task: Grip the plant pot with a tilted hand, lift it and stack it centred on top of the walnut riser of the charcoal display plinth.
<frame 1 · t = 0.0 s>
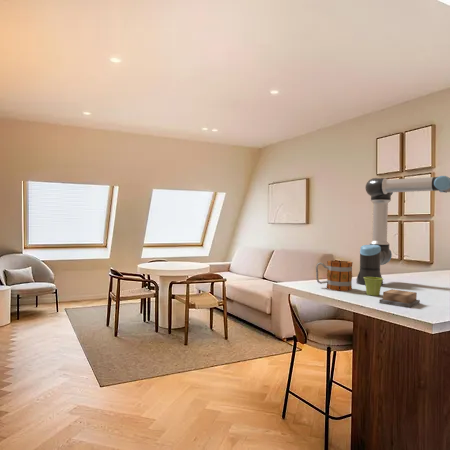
mug: (333, 288, 214), on the table
plant pot: (372, 295, 197), on the table
plinth: (399, 303, 177), on the table
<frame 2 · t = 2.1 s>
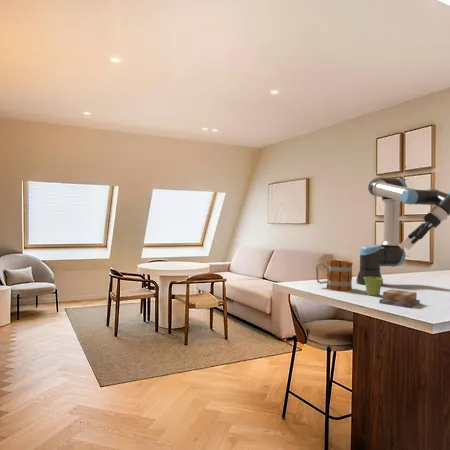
hand: (403, 247, 194), 25 cm above the table, tool tilted 45°, fingers open, 13 cm apart
nothing on the table moved.
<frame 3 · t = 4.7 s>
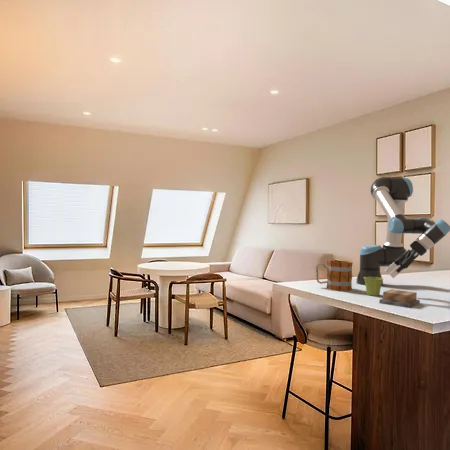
hand: (388, 274, 194), 11 cm above the table, tool tilted 45°, fingers open, 13 cm apart
nothing on the table moved.
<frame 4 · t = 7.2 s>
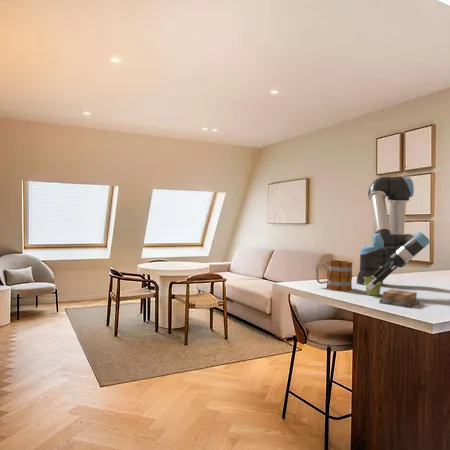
hand: (366, 286, 198), 4 cm above the table, tool tilted 45°, fingers closed on plant pot, 9 cm apart
plant pot: (372, 295, 197), on the table, touching gripper
everything else where it was.
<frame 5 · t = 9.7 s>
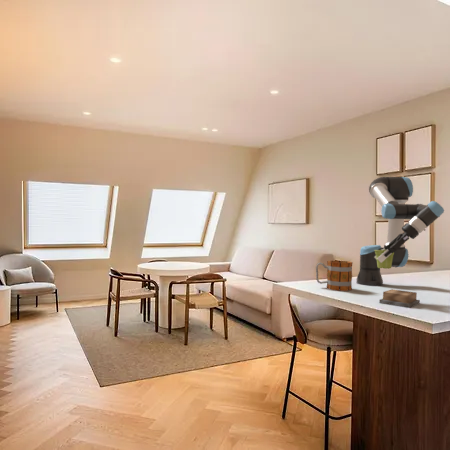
hand: (377, 259, 188), 19 cm above the table, tool tilted 45°, fingers closed on plant pot, 9 cm apart
plant pot: (384, 268, 187), point 15 cm above the table, touching gripper
everything else where it was.
when the fingers open (10 cm above the table, at t = 12.4 s): plant pot drops 1 cm, resting on plinth.
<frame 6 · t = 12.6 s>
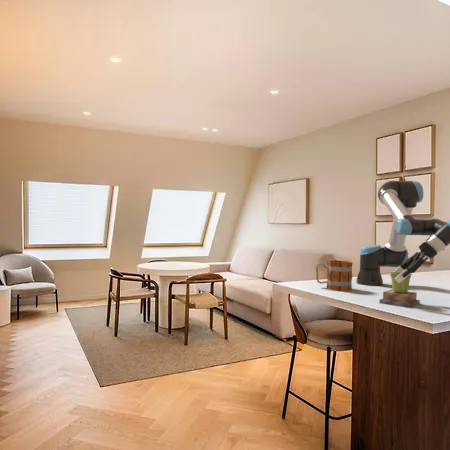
hand: (393, 279, 178), 11 cm above the table, tool tilted 45°, fingers open, 11 cm apart
plant pot: (400, 292, 177), point 5 cm above the table, touching plinth
everything else where it was.
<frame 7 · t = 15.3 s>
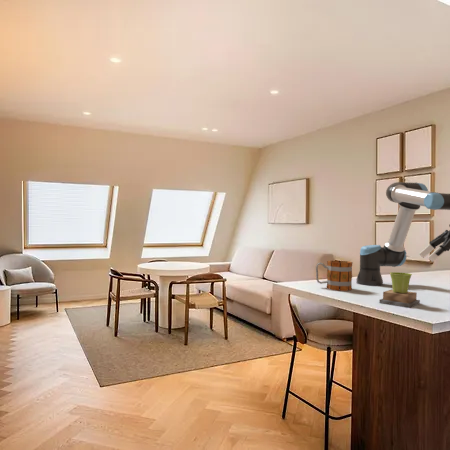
hand: (425, 257, 175), 21 cm above the table, tool tilted 45°, fingers open, 13 cm apart
nothing on the table moved.
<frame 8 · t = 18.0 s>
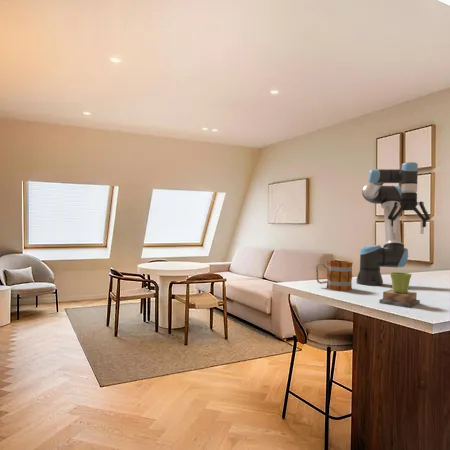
hand: (407, 233, 201), 32 cm above the table, tool pointing down, fingers open, 13 cm apart
nothing on the table moved.
at the end: plant pot 0.1 cm off-centre on the plinth, point 4.8 cm above the plinth's base; plant pot tilted 0°; the gripper is holding nothing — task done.
